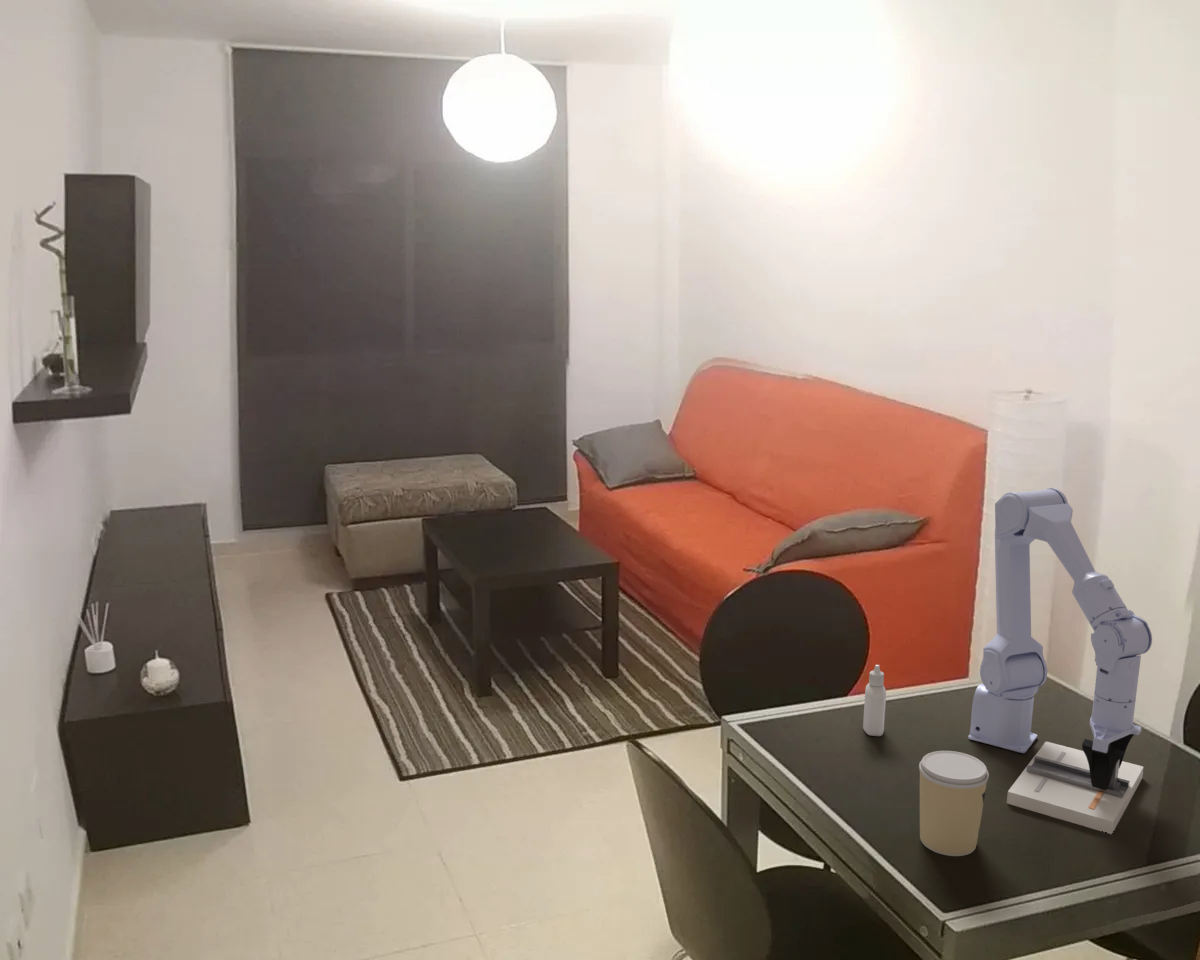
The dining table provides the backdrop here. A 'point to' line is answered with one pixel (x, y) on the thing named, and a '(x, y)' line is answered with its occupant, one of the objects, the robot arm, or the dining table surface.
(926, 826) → the coffee cup
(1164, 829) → the dining table surface
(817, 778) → the dining table surface
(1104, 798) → the console
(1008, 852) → the dining table surface
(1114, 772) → the fader tab
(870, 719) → the eye dropper bottle
